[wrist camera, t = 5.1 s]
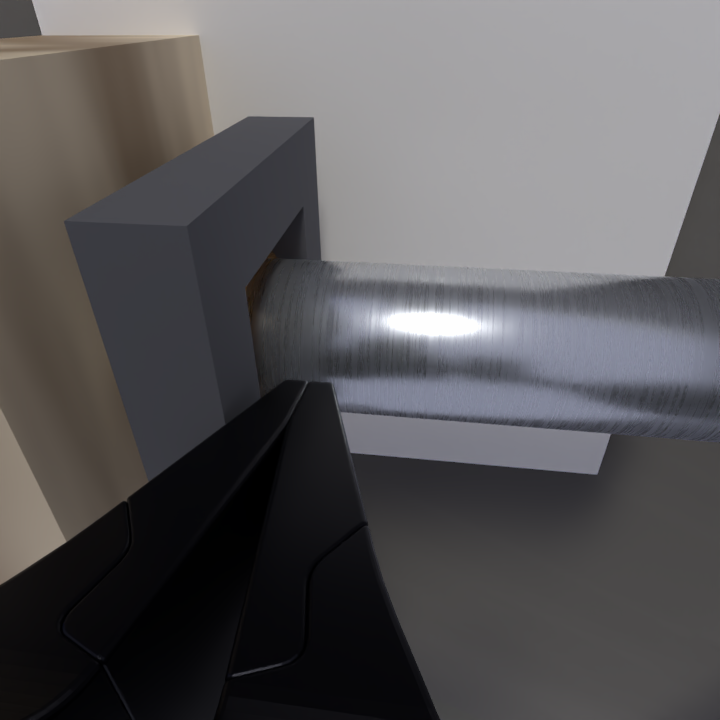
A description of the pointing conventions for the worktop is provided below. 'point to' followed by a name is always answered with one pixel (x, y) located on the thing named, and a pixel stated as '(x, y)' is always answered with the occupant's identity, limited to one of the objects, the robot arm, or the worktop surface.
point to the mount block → (73, 265)
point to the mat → (467, 143)
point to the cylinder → (495, 344)
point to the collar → (195, 275)
